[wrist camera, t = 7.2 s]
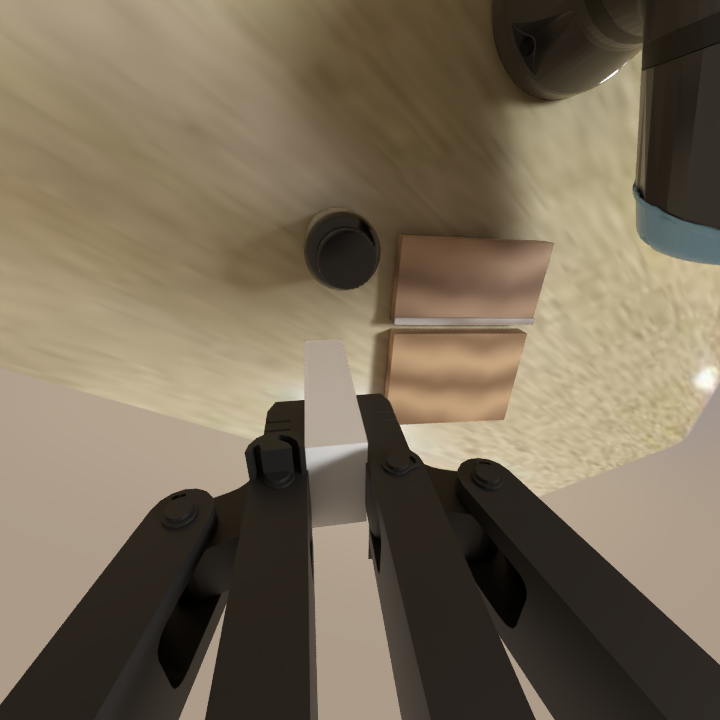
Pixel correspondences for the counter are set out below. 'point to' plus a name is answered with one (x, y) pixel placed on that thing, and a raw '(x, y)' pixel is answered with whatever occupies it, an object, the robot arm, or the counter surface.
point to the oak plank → (451, 373)
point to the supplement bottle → (341, 249)
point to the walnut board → (467, 280)
